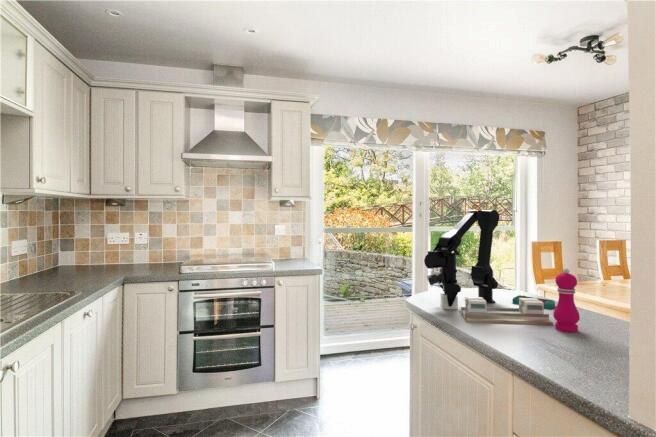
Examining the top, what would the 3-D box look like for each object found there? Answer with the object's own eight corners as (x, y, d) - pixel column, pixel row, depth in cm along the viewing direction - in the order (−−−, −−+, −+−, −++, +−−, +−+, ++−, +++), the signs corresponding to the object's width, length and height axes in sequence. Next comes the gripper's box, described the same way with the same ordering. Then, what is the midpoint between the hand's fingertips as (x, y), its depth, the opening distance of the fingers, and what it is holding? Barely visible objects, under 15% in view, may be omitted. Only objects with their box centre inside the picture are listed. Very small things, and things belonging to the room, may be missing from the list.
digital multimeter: (551, 310, 145) (551, 303, 145) (511, 304, 156) (511, 297, 156) (556, 307, 150) (556, 300, 150) (518, 301, 161) (518, 294, 161)
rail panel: (459, 311, 145) (459, 294, 145) (536, 313, 140) (536, 296, 140) (467, 322, 131) (466, 303, 131) (553, 324, 126) (552, 305, 126)
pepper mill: (571, 334, 116) (571, 270, 116) (548, 328, 123) (548, 268, 122) (584, 330, 120) (584, 269, 119) (561, 324, 126) (561, 266, 126)
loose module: (440, 305, 154) (440, 293, 154) (455, 306, 153) (455, 293, 153) (442, 308, 149) (442, 296, 149) (457, 309, 148) (457, 296, 148)
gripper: (426, 263, 161) (426, 299, 162) (430, 270, 143) (431, 310, 143) (452, 263, 159) (453, 299, 160) (460, 270, 141) (461, 311, 141)
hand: (449, 304), depth 151 cm, fingers closed on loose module, 5 cm apart
